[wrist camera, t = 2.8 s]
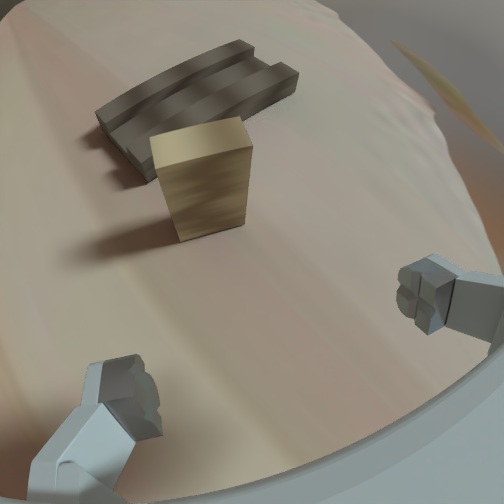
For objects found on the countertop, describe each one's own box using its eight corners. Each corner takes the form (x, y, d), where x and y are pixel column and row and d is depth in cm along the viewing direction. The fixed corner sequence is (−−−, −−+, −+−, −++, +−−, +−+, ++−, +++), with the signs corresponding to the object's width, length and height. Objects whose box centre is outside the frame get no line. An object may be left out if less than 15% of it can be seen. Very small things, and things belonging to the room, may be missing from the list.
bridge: (148, 182, 27) (141, 163, 24) (102, 130, 29) (94, 111, 26) (294, 91, 32) (299, 72, 30) (238, 57, 35) (239, 39, 32)
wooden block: (180, 241, 25) (155, 169, 15) (173, 215, 26) (149, 136, 16) (244, 224, 26) (253, 145, 16) (235, 198, 27) (239, 115, 17)
